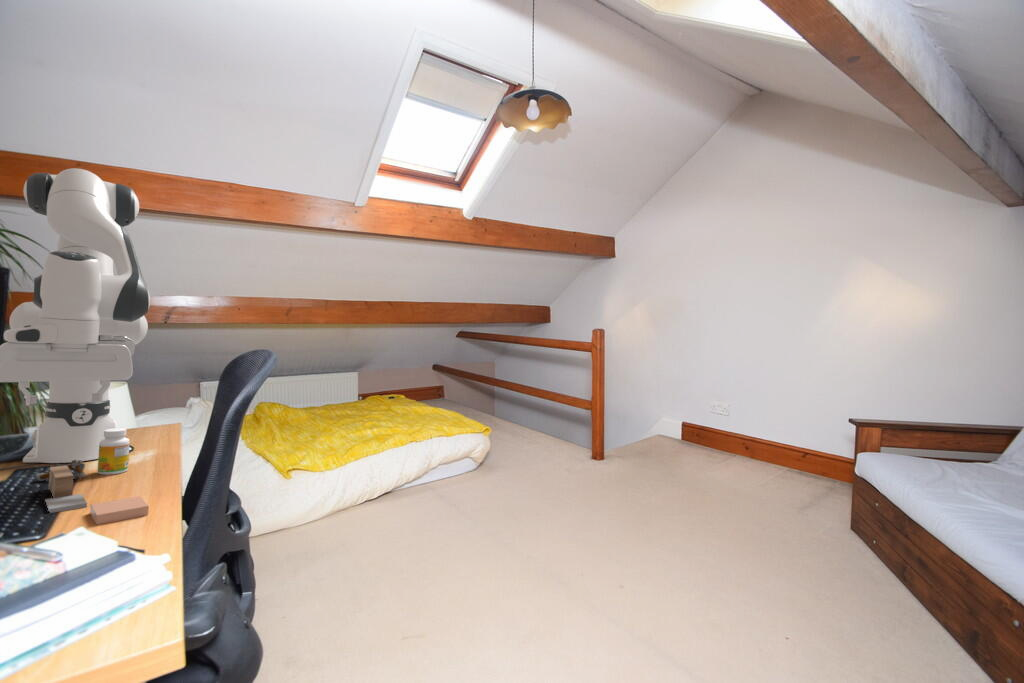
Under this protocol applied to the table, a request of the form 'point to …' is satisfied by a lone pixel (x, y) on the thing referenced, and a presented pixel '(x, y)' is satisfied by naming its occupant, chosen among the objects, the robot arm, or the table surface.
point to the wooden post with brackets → (73, 464)
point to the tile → (118, 510)
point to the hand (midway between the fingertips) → (65, 403)
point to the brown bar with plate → (63, 491)
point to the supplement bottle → (113, 452)
